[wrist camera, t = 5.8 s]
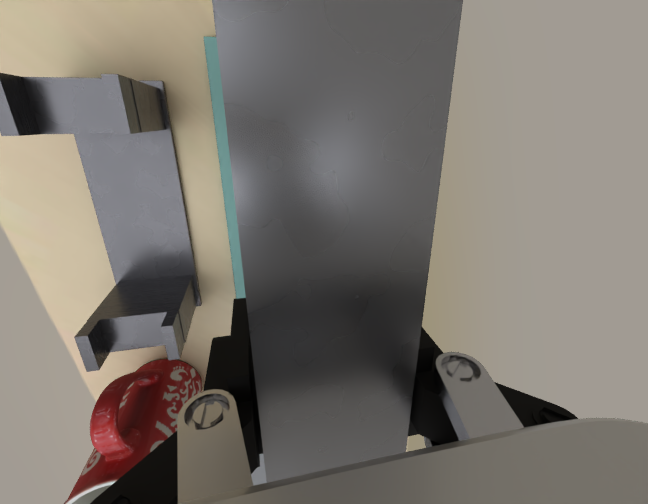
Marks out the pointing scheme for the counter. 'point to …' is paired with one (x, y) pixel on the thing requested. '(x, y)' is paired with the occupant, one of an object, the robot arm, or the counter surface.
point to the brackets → (121, 202)
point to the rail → (335, 211)
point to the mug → (133, 422)
